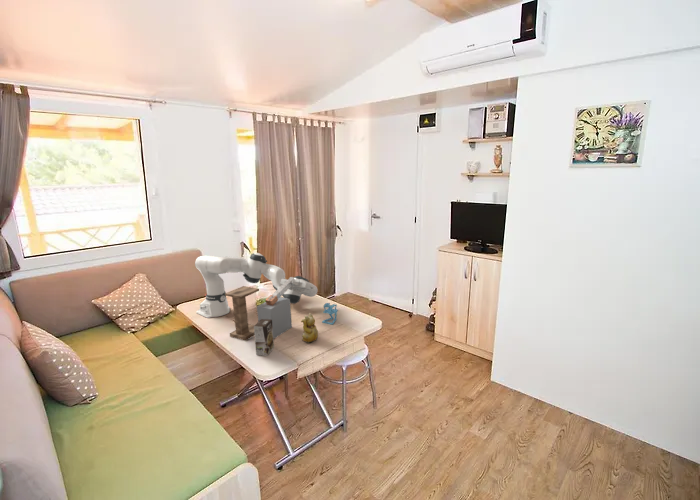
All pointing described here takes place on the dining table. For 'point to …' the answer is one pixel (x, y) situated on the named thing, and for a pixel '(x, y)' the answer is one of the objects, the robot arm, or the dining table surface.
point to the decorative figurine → (309, 329)
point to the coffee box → (264, 337)
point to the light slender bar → (279, 292)
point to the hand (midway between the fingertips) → (288, 281)
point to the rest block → (277, 315)
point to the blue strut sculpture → (330, 312)
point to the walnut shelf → (241, 312)
